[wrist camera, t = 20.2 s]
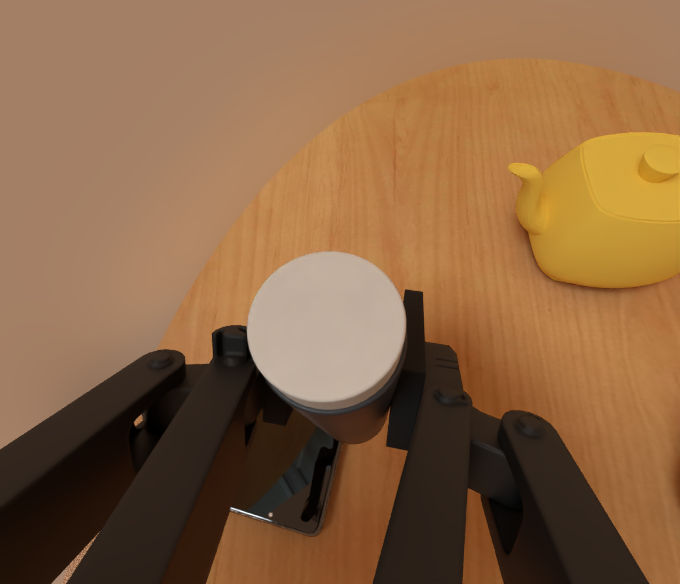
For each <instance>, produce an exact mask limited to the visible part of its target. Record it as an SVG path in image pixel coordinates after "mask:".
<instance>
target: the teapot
mask: <svg viewBox="0 0 680 584" xmlns="http://www.w3.org/2000/svg"><path fill="white" fill-rule="evenodd" d="M508 169H509V171H510V172H511V173H512V174H514V175H516V176H517V177H519V178H520V179H521V180H522V183H523V184H522V187H521V189H520V191H519V194H518V196H517V199H516V214H517V217H518V220H519V222H520V224H521V225H522V226H523V227H524V228H525V229H526V230H527V231H528V234H529V238H530V242H531V246H532V250H533V253H534V256H535V259H536V261H537V264H538V266H539V267H540V269H541V270H542V271H543V272H544V273H545V274H546V275H548V276H549V277H550V278H551V279H553V280H555V281H560V282H561V281H563V282H567V283H572V284H577V285H583V286H589V287H597V288H628V287H637V286H643V285H649V284H653V283H657V282H660V281H663V280H666V279H669V278H672V277H673V276H675V275H677V274H679V273H680V136H678V135H672V134H664V133H647V132H633V133H620V134H612V135H606V136H600V137H596V138H592V139H590V140H587V141H585V142H584V143H582V144H580V145H578V146H577V147H575V148H574V149H572V150H571V151H569V152H568V153H567V154H565V155H564V156H562V157H561V158H560V159H558V160H557V161H556V162H554V163H553V164H552V165H551V166H549V167H548V168H547V169H546V170H545V171H544V172H543V173H541V171H540V170H539V169H538V168H536V167H534V166H532V165H529V164H524V163H513V164H510V165H509V166H508Z"/></svg>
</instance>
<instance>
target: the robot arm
mask: <svg viewBox="0 0 680 584" xmlns="http://www.w3.org/2000/svg"><path fill="white" fill-rule="evenodd" d="M403 304H404V308H405V314H406V332H407V350H406V356H405V360H404V363H403V366H402V370H401V373H400V376H399V379H398V382H397V386H396V389H395V392H394V395H393V399H392V402H391V405H390V414H389V424H388V433H387V443H386V446H387V447H392V448H397V449H402V450H407V451H408V453H407V456H406V460H405V464H404V468H403V471H402V475H401V479H400V483H399V487H398V490H397V494H396V498H395V502H394V505H393V509H392V513H391V517H390V520H389V524H388V528H387V532H386V535H385V539H384V543H383V547H382V550H381V554H380V558H379V562H378V565H377V569H376V573H375V577H374V580H373V584H462V578H463V561H464V543H465V525H466V508H467V490H468V488H469V489H471V490H473V491H476V492H478V493H480V494H481V502H482V506H483V509H484V513H485V517H486V520H487V524H488V527H489V531H490V535H491V538H492V542H493V546H494V549H495V553H496V557H497V560H498V564H499V568H500V571H501V575H502V579H503V582H504V584H649V582H648V581H647V579H646V577H645V576H644V574H643V573H642V571H641V569H640V568H639V566H638V564H637V563H636V561H635V559H634V558H633V556H632V554H631V553H630V551H629V549H628V548H627V546H626V545H625V543H624V541H623V540H622V538H621V536H620V535H619V533H618V531H617V530H616V528H615V526H614V525H613V523H612V522H611V520H610V518H609V517H608V515H607V513H606V512H605V510H604V508H603V507H602V505H601V503H600V502H599V500H598V498H597V497H596V495H595V494H594V492H593V490H592V489H591V487H590V485H589V484H588V482H587V480H586V479H585V477H584V475H583V474H582V472H581V471H580V469H579V467H578V466H577V464H576V462H575V461H574V459H573V457H572V456H571V454H570V452H569V451H568V449H567V448H566V446H565V444H564V443H563V441H562V439H561V438H560V436H559V434H558V433H557V431H556V430H555V429H554V428H553V426H552V425H551V424H550V423H548V422H547V421H546V420H544V419H543V418H541V417H539V416H537V415H535V414H533V413H530V412H525V411H521V410H511V411H509V412H506V413H505V414H504V415H503V417H502V419H501V420H500V419H498V418H495V417H492V416H490V415H487V414H485V413H483V412H481V411H479V410H478V409H476V408H474V407H473V406H472V400H471V397H470V396H469V395H468V394H467V393H466V392H465V391H463V386H462V381H461V375H460V370H459V365H458V360H457V355H456V353H455V352H454V350H453V349H452V348H451V347H450V346H449V345H442V344H436V343H430V342H425V334H424V310H423V292H420V291H413V290H406V289H405V294H404V300H403ZM212 346H213V358H212V360H211V361H210V363H209V364H190V365H186V364H185V356H184V355H183V354H182V353H181V352H178V351H176V350H168V349H164V350H157V351H154V352H151V353H148V354H146V355H144V356H142V357H140V358H139V359H137V360H136V361H134V362H133V363H131V364H130V365H128V366H127V367H125V368H124V369H122V370H121V371H119V372H117V373H116V374H114V375H113V376H112V377H110V378H108V379H107V380H106V381H104V382H102V383H101V384H99V385H98V386H96V387H95V388H93V389H92V390H90V391H89V392H87V393H85V394H84V395H83V396H81V397H79V398H78V399H76V400H75V401H73V402H72V403H71V404H69V405H67V406H66V407H64V408H63V409H61V410H60V411H58V412H57V413H55V414H54V415H52V416H51V417H49V418H47V419H46V420H45V421H43V422H41V423H40V424H38V425H37V426H35V427H34V428H32V429H31V430H29V431H28V432H26V433H25V434H24V435H22V436H20V437H19V438H17V439H16V440H14V441H13V442H11V443H9V444H8V445H7V446H5V447H3V448H2V449H0V584H51V583H52V582H53V581H54V580H55V579H56V578H57V577H58V576H59V575H60V574H61V573H62V571H63V570H64V569H65V568H66V567H67V566H68V565H69V564H70V563H71V562H72V561H73V560H74V559H75V557H76V556H77V555H78V554H79V553H80V552H81V551H82V550H83V549H84V548H85V547H86V546H87V545H88V543H89V542H90V541H91V540H92V539H93V538H94V537H95V536H96V535H97V534H98V533H99V534H98V536H97V537H96V539H95V540H94V542H93V543H92V545H91V546H90V548H89V549H88V551H87V552H86V554H85V556H84V557H83V559H82V560H81V562H80V563H79V565H78V566H77V568H76V569H75V571H74V572H73V574H72V576H71V577H70V579H69V580H68V582H67V583H66V584H206V582H207V579H208V576H209V573H210V569H211V566H212V563H213V560H214V557H215V554H216V551H217V548H218V545H219V542H220V539H221V536H222V533H223V530H224V527H225V524H226V521H227V518H228V515H229V512H230V509H231V506H232V503H233V500H234V497H235V494H236V491H237V488H238V485H239V482H240V479H241V476H242V473H243V470H244V467H245V464H246V461H247V458H248V455H249V452H250V449H251V446H252V442H253V439H254V436H255V433H256V429H257V416H258V414H259V413H260V411H261V409H262V408H263V422H267V423H272V424H277V425H282V426H286V424H287V422H288V420H289V418H290V416H291V413H292V411H293V409H294V408H293V407H291V406H290V405H289V404H287V403H286V402H285V401H283V400H282V399H281V398H280V397H279V396H278V395H277V394H276V393H275V392H274V391H273V390H272V389H271V387H270V386H269V385H268V383H267V382H266V380H265V378H264V376H263V375H262V373H261V372H260V370H259V369H258V368H257V366H256V364H255V362H254V360H253V358H252V355H251V352H250V349H249V345H248V339H247V326H241V325H231V326H225V327H222V328H219V329H217V330H215V331H214V332H213V333H212ZM141 414H142V417H143V421H142V422H141V423H139V424H138V425H137V426H135V425H134V421H135V420H136V419H137V418H138V417H139V416H140V415H141Z"/></svg>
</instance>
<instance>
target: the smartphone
mask: <svg viewBox="0 0 680 584" xmlns="http://www.w3.org/2000/svg"><path fill="white" fill-rule="evenodd" d="M342 445H343V443H342V442H340V441H338V440H336V439H334V438H333V437H331V436H330V435H329V434H327V433H326V432H325V431H323V430H322V429H321V428H319V427H318V426H317V425H315V424H314V423H313V422H311V421H310V420H309V419H307V418H306V417H305V416H303V415H302V414H301V413H299V412H298V411H297V410H295V409H293V411H292V413H291V416H290V418H289V420H288V422H287V424H286V426H282V425H277V424H272V423H267V422H263V408H262V409H261V411H260V413H259V414H258V416H257V429H256V433H255V436H254V439H253V442H252V446H251V449H250V452H249V455H248V458H247V461H246V464H245V467H244V470H243V473H242V476H241V479H240V482H239V485H238V488H237V491H236V494H235V497H234V500H233V503H232V506H231V509H230V512H233V513H236V514H239V515H242V516H245V517H248V518H251V519H254V520H258V521H261V522H264V523H267V524H270V525H273V526H276V527H280V528H283V529H286V530H289V531H292V532H295V533H299V534H302V535H305V536H308V537H315V536H317V535H319V534H320V532H321V531H322V529H323V525H324V521H325V517H326V513H327V508H328V504H329V500H330V496H331V491H332V487H333V483H334V479H335V474H336V470H337V466H338V462H339V457H340V453H341V449H342Z"/></svg>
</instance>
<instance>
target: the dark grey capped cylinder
mask: <svg viewBox="0 0 680 584" xmlns="http://www.w3.org/2000/svg"><path fill="white" fill-rule="evenodd" d="M247 339H248V345H249V349H250V352H251V355H252V358H253V360H254V362H255V364H256V366H257V368H258V369H259V370H260V372H261V373H262V375H263V376H264V378H265V380H266V382H267V383H268V385H269V386H270V387H271V389H272V390H273V391H274V392H275V393H276V394H277V395H278V396H279V397H280V398H281V399H282V400H283V401H285V402H286V403H287V404H289V405H290V406H291V407H293V408H294V409H295V410H297V411H298V412H299V413H301V414H302V415H303V416H305V417H306V418H307V419H309V420H310V421H311V422H313V423H314V424H315V425H317V426H318V427H319V428H321V429H322V430H323V431H325V432H326V433H327V434H329V435H330V436H331V437H333V438H334V439H336V440H338V441H340V442H342V443H346V444H360V443H364V442H366V441H368V440H370V439H372V438H373V437H375V436H376V435H377V434H378V433H379V432H380V430H381V429H382V427H383V426H384V423H385V421H386V418H387V415H388V412H389V408H390V405H391V402H392V399H393V395H394V392H395V389H396V386H397V382H398V379H399V376H400V373H401V370H402V366H403V363H404V360H405V356H406V350H407V332H406V314H405V308H404V304H403V301H402V299H401V296H400V294H399V292H398V290H397V288H396V287H395V285H394V283H393V282H392V281H391V280H390V278H389V277H388V276H387V275H386V274H385V273H384V272H383V271H382V270H381V269H379V268H378V267H377V266H375V265H374V264H372V263H371V262H369V261H367V260H365V259H363V258H361V257H358V256H356V255H352V254H349V253H344V252H335V251H325V252H316V253H310V254H307V255H304V256H300V257H298V258H296V259H293V260H291V261H290V262H288V263H286V264H284V265H283V266H281V267H280V268H279V269H277V270H276V271H275V272H274V273H273V274H272V275H271V276H269V277H268V279H267V280H266V281H265V282H264V283H263V285H262V286H261V288H260V289H259V291H258V292H257V294H256V296H255V298H254V300H253V303H252V305H251V308H250V311H249V316H248V322H247Z"/></svg>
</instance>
